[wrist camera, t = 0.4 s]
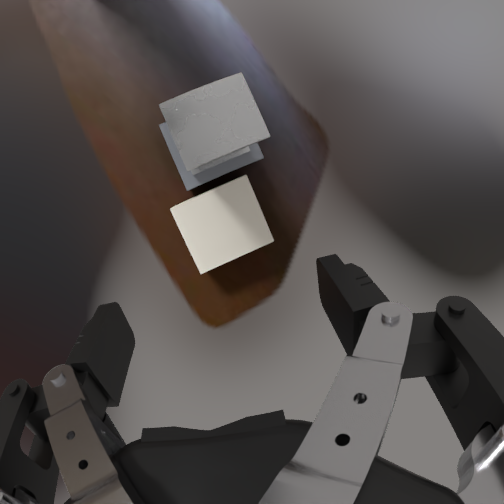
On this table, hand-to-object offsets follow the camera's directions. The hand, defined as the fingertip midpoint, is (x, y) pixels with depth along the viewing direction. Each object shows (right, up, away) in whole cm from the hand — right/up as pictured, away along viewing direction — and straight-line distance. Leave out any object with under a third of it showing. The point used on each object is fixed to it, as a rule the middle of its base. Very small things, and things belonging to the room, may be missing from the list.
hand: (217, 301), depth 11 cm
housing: (-3, +14, +19) cm, 24 cm away
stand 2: (-2, +6, +25) cm, 26 cm away
